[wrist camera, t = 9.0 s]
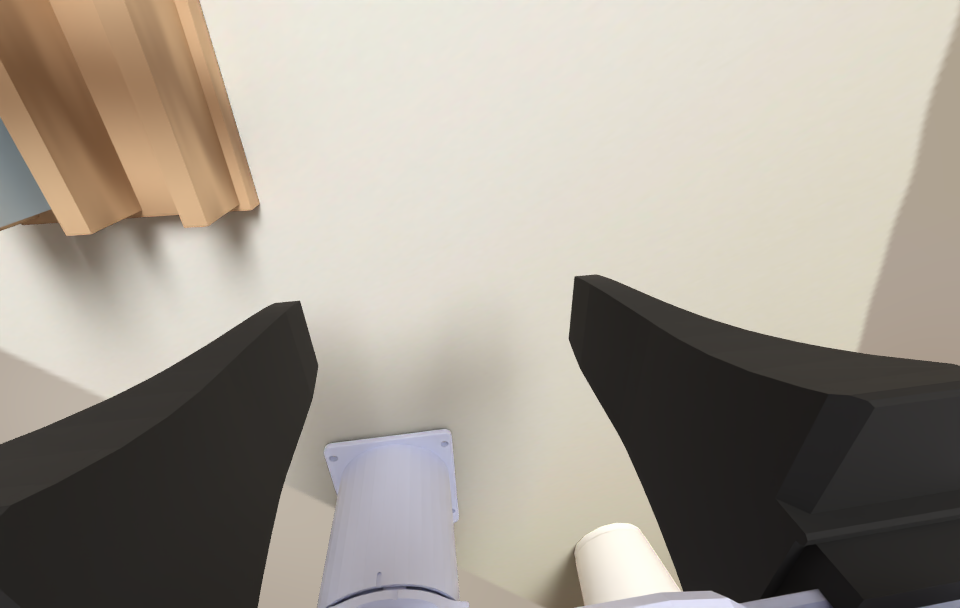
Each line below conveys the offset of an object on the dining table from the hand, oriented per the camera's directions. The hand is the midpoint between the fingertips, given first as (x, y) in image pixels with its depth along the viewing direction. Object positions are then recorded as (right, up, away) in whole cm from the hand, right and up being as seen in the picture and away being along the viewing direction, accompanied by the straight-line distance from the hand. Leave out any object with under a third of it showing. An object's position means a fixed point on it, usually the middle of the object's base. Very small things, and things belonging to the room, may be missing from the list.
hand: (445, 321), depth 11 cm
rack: (-13, +8, +5) cm, 17 cm away
